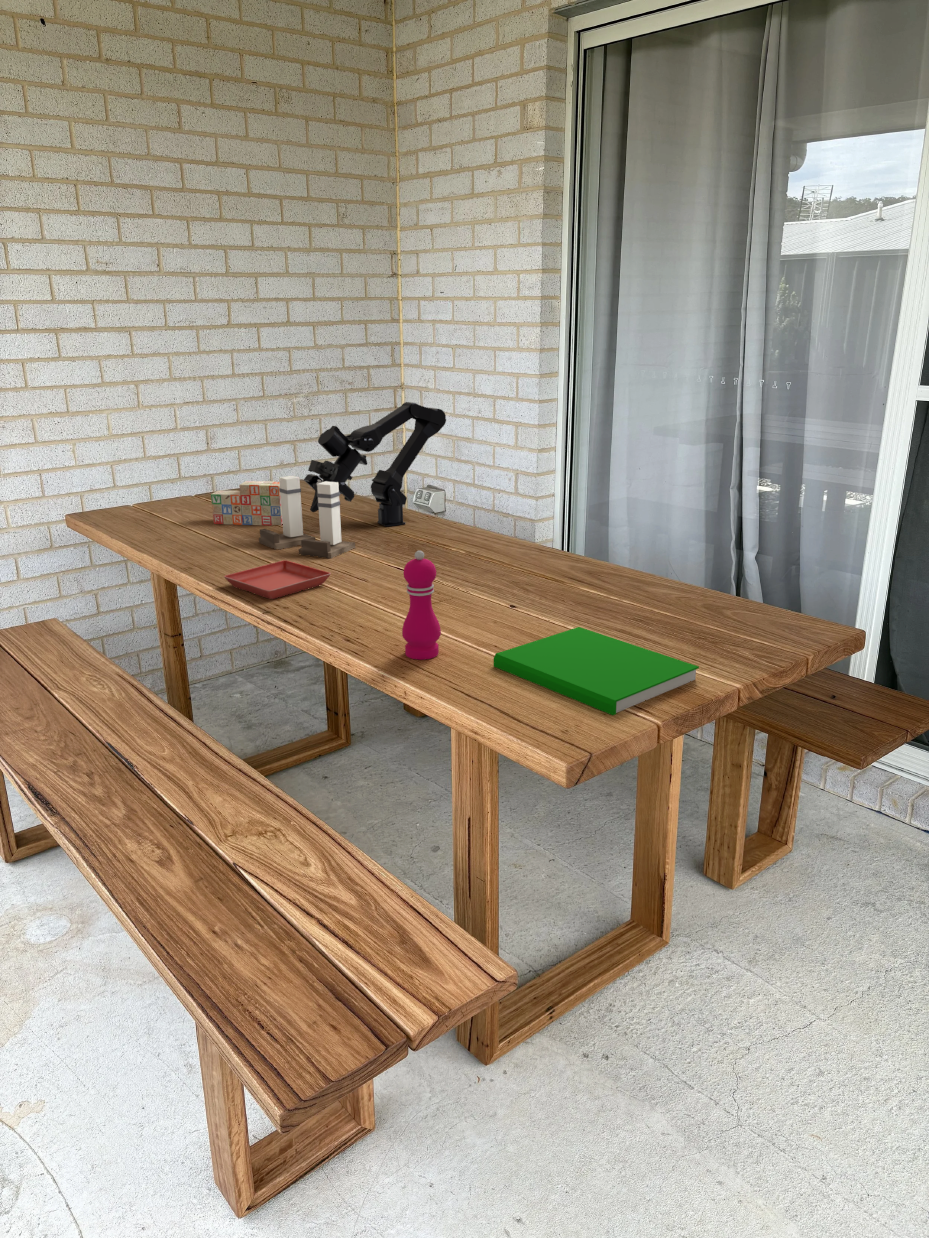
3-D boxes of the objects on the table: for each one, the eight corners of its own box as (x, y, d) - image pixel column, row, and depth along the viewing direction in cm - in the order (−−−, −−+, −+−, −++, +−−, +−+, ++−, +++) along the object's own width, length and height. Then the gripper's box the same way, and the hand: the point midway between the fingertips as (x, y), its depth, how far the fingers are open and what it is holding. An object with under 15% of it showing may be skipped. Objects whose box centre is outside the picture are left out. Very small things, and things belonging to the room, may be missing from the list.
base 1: (297, 536, 265) (296, 522, 264) (315, 542, 258) (314, 528, 256) (259, 543, 258) (258, 528, 257) (276, 549, 251) (275, 535, 249)
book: (578, 641, 183) (579, 626, 182) (697, 682, 162) (699, 666, 162) (493, 669, 169) (493, 654, 168) (612, 718, 149) (612, 701, 148)
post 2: (328, 540, 252) (325, 481, 247) (342, 541, 251) (339, 482, 246) (319, 543, 249) (316, 484, 244) (333, 545, 247) (330, 485, 242)
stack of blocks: (213, 524, 281) (209, 484, 277) (221, 520, 287) (217, 480, 283) (281, 526, 278) (278, 485, 274) (288, 521, 284) (285, 481, 280)
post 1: (296, 532, 261) (292, 475, 256) (304, 535, 258) (300, 477, 253) (282, 534, 259) (278, 477, 254) (290, 537, 256) (286, 479, 250)
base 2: (323, 544, 256) (323, 530, 255) (355, 547, 252) (354, 533, 251) (298, 554, 246) (297, 539, 244) (331, 558, 242) (330, 543, 240)
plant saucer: (270, 604, 207) (268, 590, 206) (223, 588, 218) (222, 575, 217) (333, 586, 219) (332, 572, 218) (286, 572, 231) (285, 559, 230)
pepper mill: (402, 647, 179) (399, 546, 172) (440, 646, 179) (438, 545, 173) (403, 661, 172) (399, 556, 165) (442, 660, 172) (440, 555, 166)
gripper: (307, 445, 265) (275, 488, 262) (342, 452, 251) (309, 498, 248) (333, 470, 272) (302, 512, 269) (368, 478, 259) (336, 523, 255)
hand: (311, 511), depth 260 cm, fingers closed
